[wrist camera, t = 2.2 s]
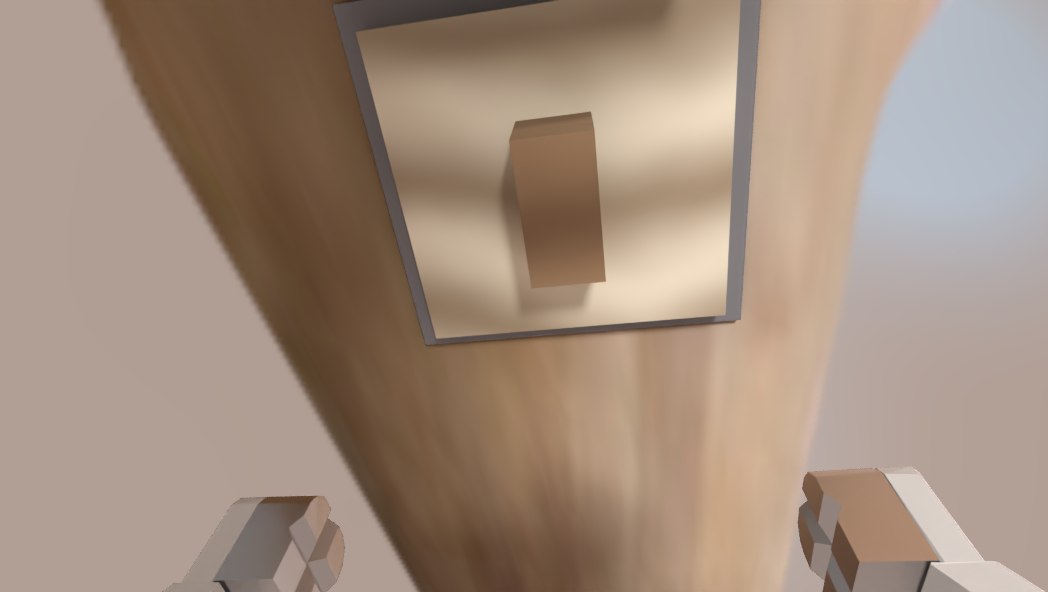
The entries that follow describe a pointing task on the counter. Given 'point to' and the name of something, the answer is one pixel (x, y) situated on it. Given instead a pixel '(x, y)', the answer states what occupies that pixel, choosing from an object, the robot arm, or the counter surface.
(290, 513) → the robot arm
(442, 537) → the counter surface
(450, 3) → the mat
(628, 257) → the lid
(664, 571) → the counter surface
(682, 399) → the counter surface
